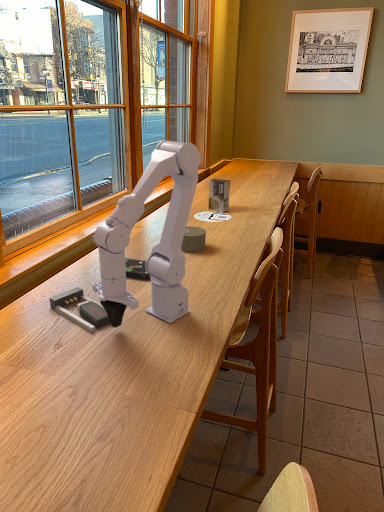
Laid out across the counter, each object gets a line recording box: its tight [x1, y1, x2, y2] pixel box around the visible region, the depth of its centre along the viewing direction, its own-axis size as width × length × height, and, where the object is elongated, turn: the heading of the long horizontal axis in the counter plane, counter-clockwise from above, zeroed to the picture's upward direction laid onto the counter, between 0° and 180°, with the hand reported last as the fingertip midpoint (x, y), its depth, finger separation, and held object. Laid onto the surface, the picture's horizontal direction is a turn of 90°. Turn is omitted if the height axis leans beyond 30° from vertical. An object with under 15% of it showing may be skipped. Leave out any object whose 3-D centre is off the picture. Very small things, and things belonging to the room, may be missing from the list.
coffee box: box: [208, 178, 231, 213], centre depth 200 cm, size 9×6×16 cm
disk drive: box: [125, 257, 151, 281], centre depth 128 cm, size 10×3×15 cm
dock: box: [48, 286, 103, 333], centre depth 102 cm, size 18×9×3 cm, turn 50°
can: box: [181, 226, 207, 254], centre depth 149 cm, size 12×12×7 cm
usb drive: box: [76, 301, 111, 330], centre depth 101 cm, size 5×12×3 cm, turn 42°
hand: (116, 325), depth 95 cm, fingers closed
